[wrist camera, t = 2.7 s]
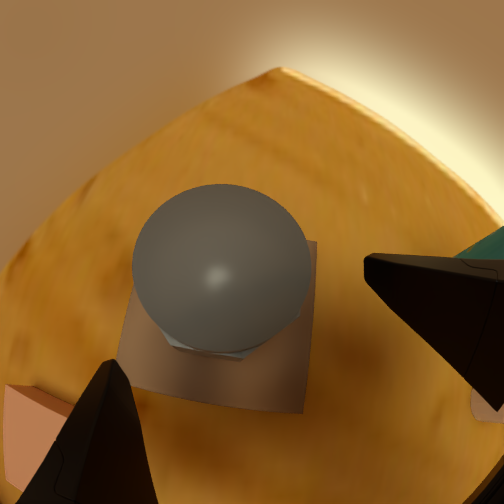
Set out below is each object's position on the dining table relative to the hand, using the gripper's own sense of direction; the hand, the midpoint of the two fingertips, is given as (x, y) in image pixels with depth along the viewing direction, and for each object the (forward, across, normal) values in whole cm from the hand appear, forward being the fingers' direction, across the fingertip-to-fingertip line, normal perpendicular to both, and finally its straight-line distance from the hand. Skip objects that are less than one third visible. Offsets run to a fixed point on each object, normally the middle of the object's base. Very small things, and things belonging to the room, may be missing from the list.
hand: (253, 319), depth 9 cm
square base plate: (+9, 0, +5) cm, 10 cm away
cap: (+5, 0, +2) cm, 6 cm away
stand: (+4, +14, +10) cm, 18 cm away
